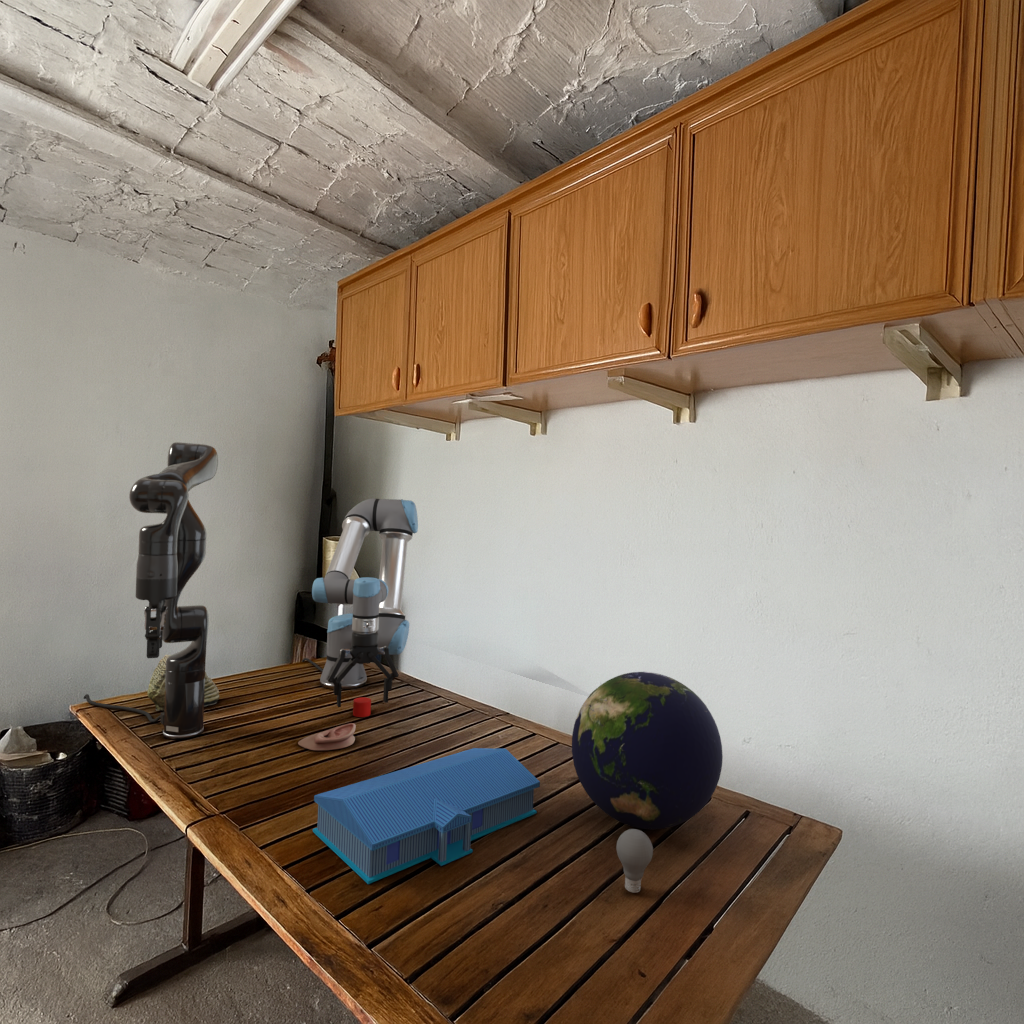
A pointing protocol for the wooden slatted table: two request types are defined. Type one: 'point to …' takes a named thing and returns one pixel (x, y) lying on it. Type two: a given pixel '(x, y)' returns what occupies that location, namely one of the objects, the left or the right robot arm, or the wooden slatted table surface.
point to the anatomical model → (330, 738)
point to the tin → (361, 707)
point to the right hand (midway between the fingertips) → (362, 703)
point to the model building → (424, 811)
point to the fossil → (158, 687)
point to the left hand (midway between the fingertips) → (154, 652)
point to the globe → (647, 750)
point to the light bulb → (634, 857)
